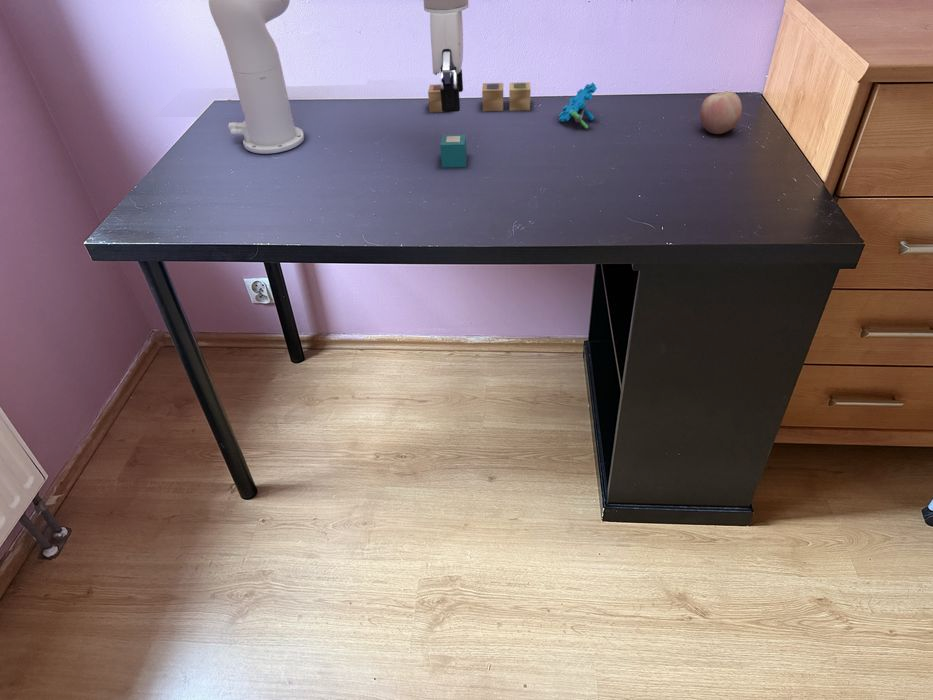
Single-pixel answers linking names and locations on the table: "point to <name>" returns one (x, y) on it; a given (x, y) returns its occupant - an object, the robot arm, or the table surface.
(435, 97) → the beech block
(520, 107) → the beech block
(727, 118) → the apple
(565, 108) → the blue flower
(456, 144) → the teal block
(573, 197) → the table surface
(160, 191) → the table surface
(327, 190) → the table surface
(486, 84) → the beech block
